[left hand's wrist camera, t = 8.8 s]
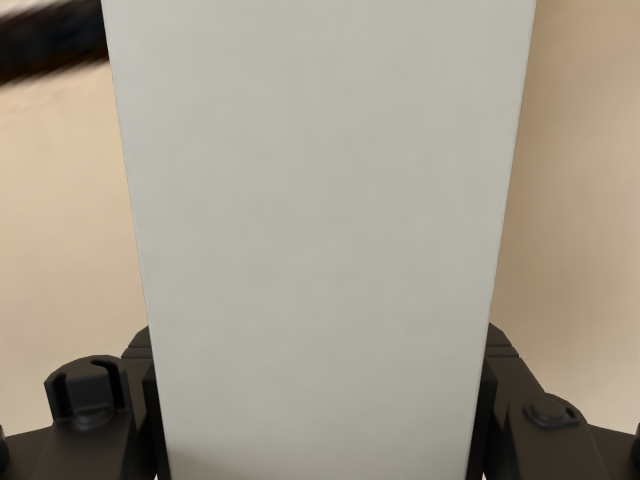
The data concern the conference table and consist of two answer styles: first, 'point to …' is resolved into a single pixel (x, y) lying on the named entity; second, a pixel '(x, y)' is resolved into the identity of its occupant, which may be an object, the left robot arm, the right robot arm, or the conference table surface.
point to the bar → (318, 224)
